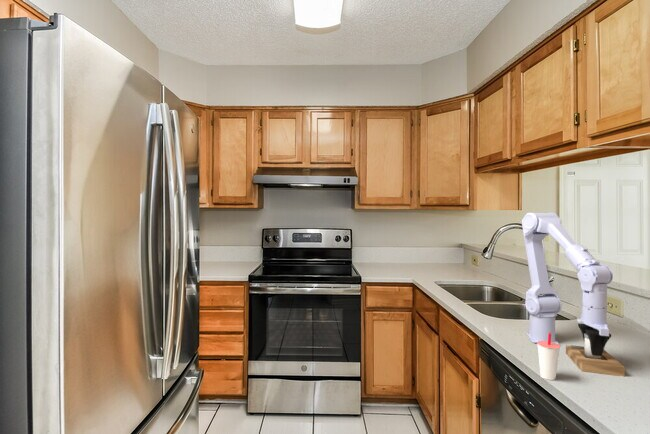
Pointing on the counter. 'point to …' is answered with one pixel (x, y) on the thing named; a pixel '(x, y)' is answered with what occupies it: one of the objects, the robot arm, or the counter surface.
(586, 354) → the salt shaker
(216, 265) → the counter surface
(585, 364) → the jig
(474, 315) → the counter surface
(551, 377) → the cup
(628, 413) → the counter surface
